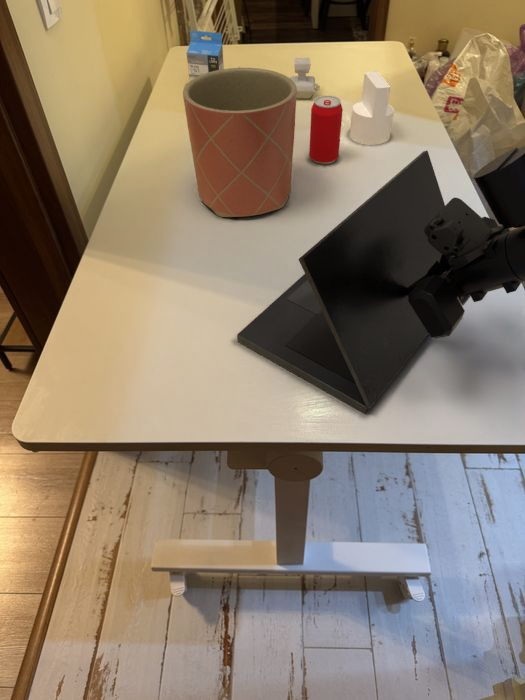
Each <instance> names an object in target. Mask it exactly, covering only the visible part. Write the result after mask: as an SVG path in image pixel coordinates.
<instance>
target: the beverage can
mask: <svg viewBox="0 0 525 700" xmlns="http://www.w3.org/2000/svg"><path fill="white" fill-rule="evenodd" d="M341 101H342V100H341V99H340V98H339V97H337V96H334V95H322V96H321V95H320V96H318V97H316V98H315V99H314V100H313V103H312V105H311V109H310V127H309V129H310V130H309V152H308V155H309V158H310V160H311V161H313V162H315V163H316V164H319V165H328V164H332V163H333V162H335V161H336V160H337V159H339V155H340V143H341V132H342V123H343V122H342V121H343V110H344V109H343V106H342V102H341Z"/></svg>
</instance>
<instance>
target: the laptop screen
mask: <svg viewBox="0 0 525 700" xmlns="http://www.w3.org/2000/svg"><path fill="white" fill-rule="evenodd" d="M445 205H446V203H445V201H444V198H443V194H442V191H441V188H440V185H439V181H438V179H437V176H436V173H435V169H434V166H433V163H432V159H431V157H430V154H429V151H428V150H423V151H422V152H421V153H420V154H419V155H417V156H416V157H415V158H414V159H413V160H412V161H410V162H409V163H408V164H407V165H406V166H405V167H403V168H402V169H401V170H400V171H399V172H398V173H396V175H394V176H393V177H391V179H390V180H389V181H387V182H386V183H385V184H384V185H383V186H381V187H380V188H379V189H378V190H377V191H376V192H374V194H372V195H371V196H370V197H369V198H368V199H366V200H365V201H364V202H363V203H362V204H361V205H359V206H358V207H357V208H356V209H355V210H353V211H352V212H351V213H349V214H348V216H347V217H346V218H344V219H343V220H342V221H341V222H340V223H338V224H337V225H336V226H335V227H334V228H333V229H331V231H329V232H328V233H327V234H326V235H324V237H322V238H321V239H320V240H318V242H316V243H315V244H314V245H313V246H311V248H310V249H308V250H307V251H306V252H305V253H304V254H303V255H301V256H300V257H299V258H298V262H299V264H300V266H301V268H302V270H303V273H304V274H305V275H306V277H307V279H308V281H309V283H310V285H311V288H312V290H313V292H314V294H315V296H316V298H317V301H318V303H319V305H320V307H321V309H322V311H323V313H324V316H325V318H326V320H327V322H328V324H329V326H330V329H331V331H332V333H333V335H334V337H335V339H336V342H337V344H338V346H339V348H340V350H341V352H342V354H343V357H344V359H345V361H346V363H347V365H348V367H349V370H350V372H351V374H352V376H353V378H354V380H355V382H356V385H357V387H358V389H359V391H360V393H361V395H362V398H363V400H364V402H365V404H366V406H367V407H369V408H372V407H373V406H374V405H375V403H376V402H377V401H378V399H380V397H381V396H382V395H383V393H384V392H385V390H386V389H387V388H388V386H389V385H390V384H391V383H392V381H393V380H394V379H395V378H396V376H397V375H398V374H399V373H400V371H401V370H402V369H403V367H404V366H405V365H406V363H407V362H408V361H409V360H410V358H411V357H412V356H413V354H414V353H415V352H416V350H417V349H419V347H420V346H421V344H422V343H423V342H424V340H425V339H426V338H427V336H428V335H429V333H428V332H427V330H426V329H425V327H424V325H423V324H422V322H421V321H420V319H419V317H418V316H417V314H416V313H415V311H414V309H413V308H412V306H411V305H410V303H409V301H408V295H407V293H406V292H405V290H406V289H407V288H408V287H409V286H410V285H412V284H413V283H414V282H416V281H417V280H419V279H420V278H422V277H423V276H424V275H426V274H427V272H428V270H429V269H430V268H431V267H432V266H433V264H434V263H435V262H436V261H438V262H440V259H441V256H442V254H441V253H440V252H439V251H437V250H436V249H435V248H434V247H433V246H432V245H431V244H430V243H429V242H428V237H427V236H426V234H425V232H424V228H425V227H426V226H427V225H428V224H429V222H430V221H431V220H432V219H433V218H434V217H435V216H436V215H437V214H438V213H439V212H440V211H441V210H442V209H443V208H444V207H445Z"/></svg>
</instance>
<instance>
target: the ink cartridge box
mask: <svg viewBox="0 0 525 700" xmlns="http://www.w3.org/2000/svg"><path fill="white" fill-rule="evenodd" d="M189 33H190V34H189V35H190V42H189V44H188V48H187V51H186V60H187V61H186V63H187V70H188V79H189V82H190V81H191V80H192V79H194V78H196V77H198V76H200V75H203V74H205V73H208V72H212V71H216V70H222V69H225V66H224V65H225V63H224V48H223V34H222V32H213V31H204V30H203V31H201V30H189ZM205 36H206V37H207V38H210V39H205ZM203 38H204V39H203Z"/></svg>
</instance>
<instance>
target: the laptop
mask: <svg viewBox="0 0 525 700" xmlns="http://www.w3.org/2000/svg"><path fill="white" fill-rule="evenodd" d="M236 337H237V338H236V340H237V343H239V344H241V345H242V346H244V347H246V348H248V349H250V350H251V351H253V352H255V353H257V354H258V355H260V356H262V357H264V358H266V359H267V360H269V361H271V362H273V363H274V364H276V365H277V366H279V367H282V368H283V369H285V370H286V371H289V372H290V373H292V374H293V375H296V376H297V377H299V378H301V379H303V380H305V381H307V383H309V384H311V385H313V386H314V387H316V388H318V389H320V390H322V391H324V392H325V393H327V394H328V395H330V396H333V397H334V398H336V399H338V400H339V401H342V402H343V403H344V404H347V405H349V406H350V407H351V408H354V409H356V410H357V411H359V412H361V413H362V414H366V412H367V411H368V410H369V409H370V407H367V406H366V404H365V402H364V400H363V398H362V395H361V393H360V391H359V389H358V387H357V385H356V382H355V380H354V378H353V376H352V374H351V372H350V370H349V367H348V365H347V363H346V361H345V359H344V357H343V354H342V352H341V350H340V348H339V346H338V344H337V342H336V339H335V337H334V335H333V333H332V331H331V329H330V326H329V324H328V322H327V320H326V318H325V316H324V313H323V311H322V309H321V307H320V305H319V303H318V301H317V298H316V296H315V294H314V292H313V290H312V288H311V285H310V283H309V281H308V279H307V277H306V275H305V273H304V274H303V275H301V277H299V278H298V279H297V280H296V281H295V282H294V283H293V284H291V285H290V287H288V288H287V289H286V290H285V291H284V292H283V293H282V294H280V295H279V296H278V297H277V298H276V299H274V301H273V302H271V304H269V305H268V306H266V308H264V310H262V312H261V313H259V314H258V315H257V316H256V317H255V318H253V320H251V322H249V323H248V324H247V325H246V326H245V327H244V328H242V330H241V331H239V332H238V333H237V334H236Z"/></svg>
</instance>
